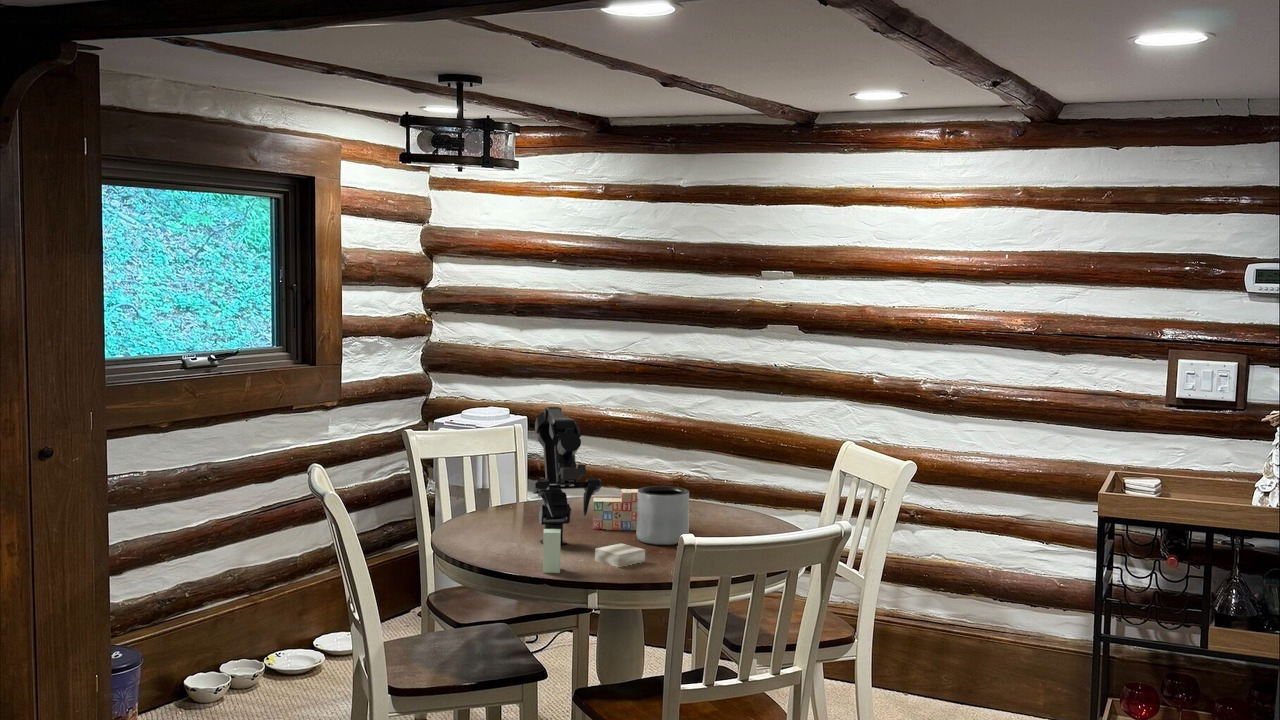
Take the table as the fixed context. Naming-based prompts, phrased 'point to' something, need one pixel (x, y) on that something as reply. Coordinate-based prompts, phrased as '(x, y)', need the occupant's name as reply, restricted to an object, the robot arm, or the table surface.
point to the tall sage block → (551, 550)
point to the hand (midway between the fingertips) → (568, 515)
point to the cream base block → (619, 555)
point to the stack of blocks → (616, 511)
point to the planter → (662, 514)
